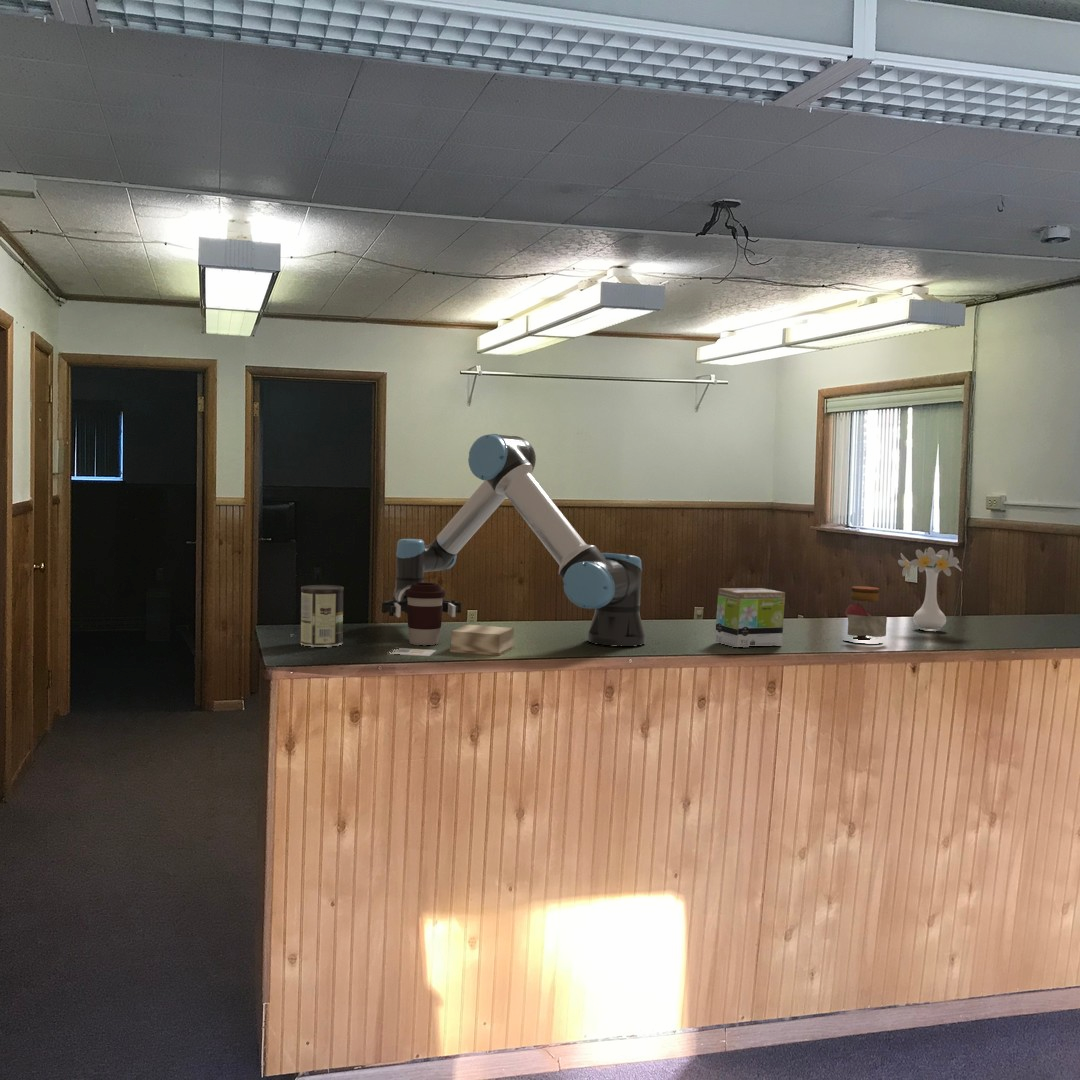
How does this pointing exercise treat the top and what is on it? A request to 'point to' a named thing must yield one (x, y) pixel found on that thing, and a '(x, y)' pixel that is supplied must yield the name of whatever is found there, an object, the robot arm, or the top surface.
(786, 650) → the top surface
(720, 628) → the tea box
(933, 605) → the flower vase
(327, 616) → the coffee can
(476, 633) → the tan flat block
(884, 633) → the brown red grey stack
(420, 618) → the coffee cup
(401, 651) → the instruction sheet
